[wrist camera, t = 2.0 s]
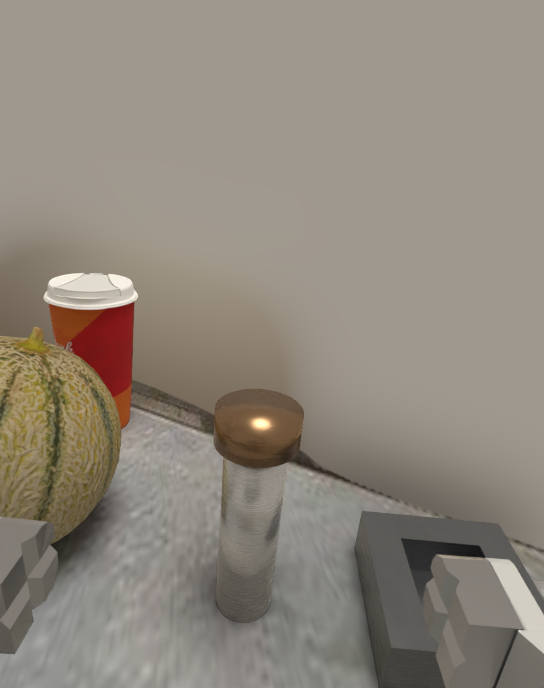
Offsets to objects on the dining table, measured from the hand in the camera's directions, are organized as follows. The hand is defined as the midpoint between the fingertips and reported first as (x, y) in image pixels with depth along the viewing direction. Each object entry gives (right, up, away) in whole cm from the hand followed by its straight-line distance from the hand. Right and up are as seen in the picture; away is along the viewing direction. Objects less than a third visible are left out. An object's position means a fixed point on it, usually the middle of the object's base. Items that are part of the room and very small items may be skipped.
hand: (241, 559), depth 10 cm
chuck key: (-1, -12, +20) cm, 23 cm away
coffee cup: (-18, -4, +37) cm, 41 cm away
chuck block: (+13, -13, +20) cm, 27 cm away
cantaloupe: (-18, -9, +23) cm, 31 cm away
